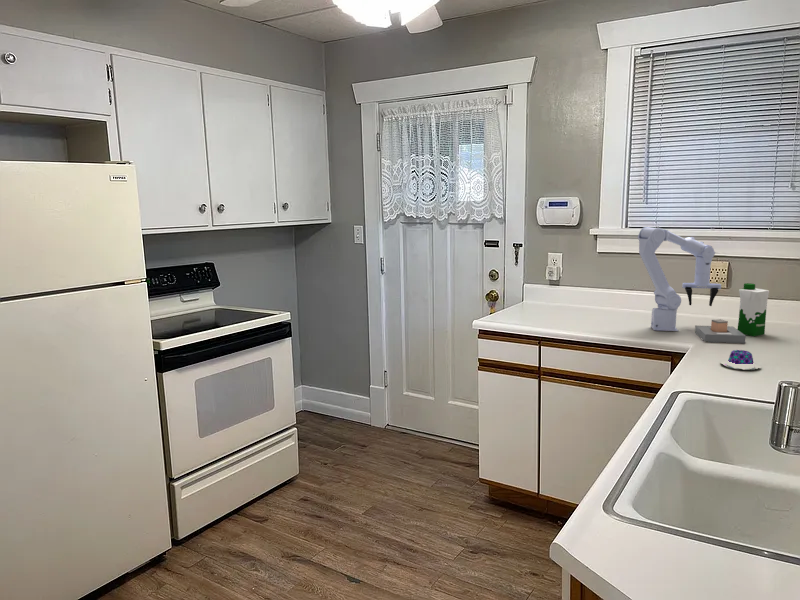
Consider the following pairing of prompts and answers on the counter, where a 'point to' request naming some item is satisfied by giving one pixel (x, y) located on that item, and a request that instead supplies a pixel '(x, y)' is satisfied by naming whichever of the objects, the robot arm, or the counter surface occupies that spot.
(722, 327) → the tan rectangular block
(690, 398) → the counter surface
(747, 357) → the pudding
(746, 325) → the milk carton
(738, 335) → the outlet box
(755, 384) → the counter surface
